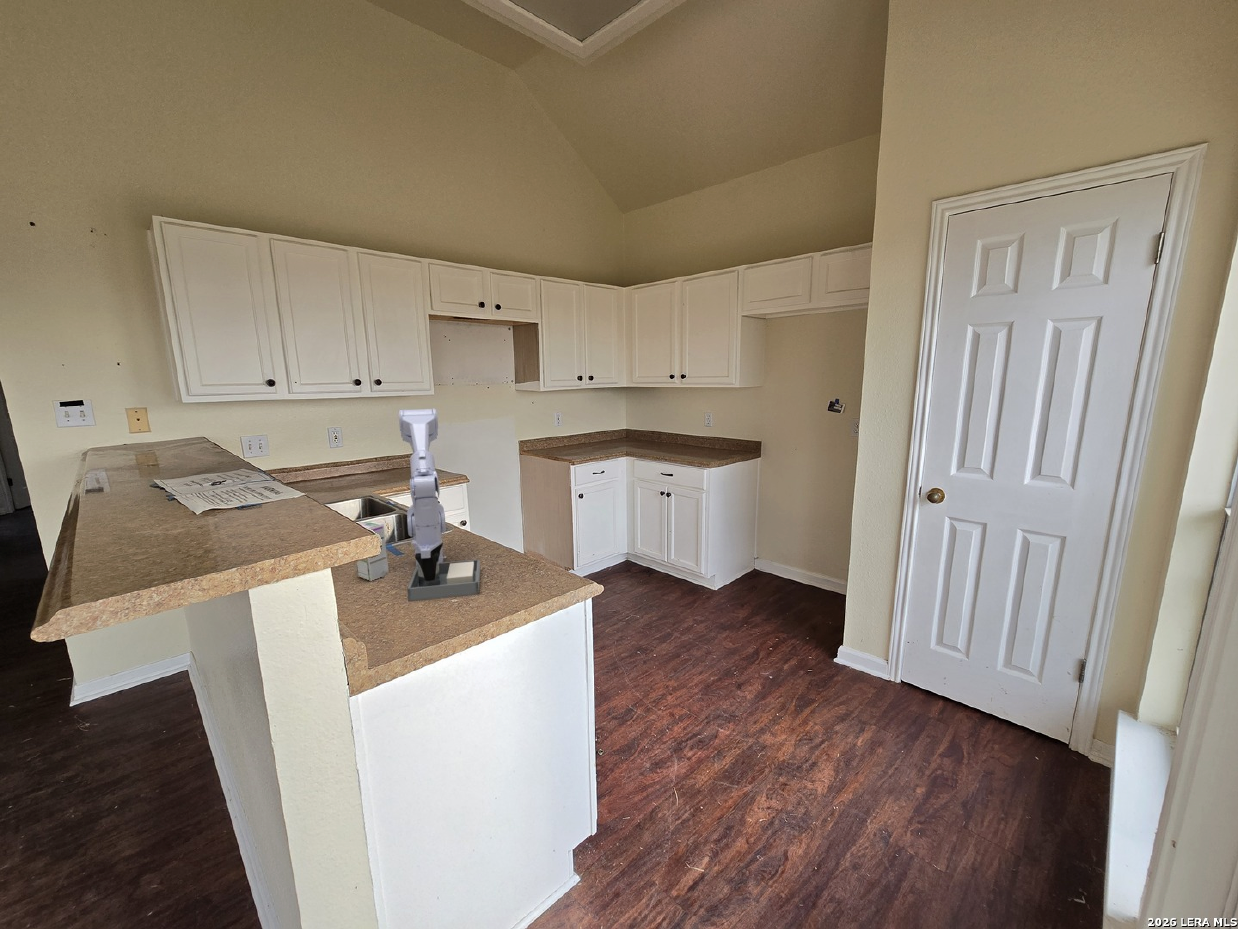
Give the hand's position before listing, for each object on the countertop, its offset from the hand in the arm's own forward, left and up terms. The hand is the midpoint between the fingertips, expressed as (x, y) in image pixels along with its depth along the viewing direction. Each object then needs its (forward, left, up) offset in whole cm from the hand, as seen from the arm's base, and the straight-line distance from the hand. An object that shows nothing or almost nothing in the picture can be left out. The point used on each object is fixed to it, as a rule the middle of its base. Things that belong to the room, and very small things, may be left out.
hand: (431, 576), depth 130 cm
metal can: (0, -1, -3) cm, 3 cm away
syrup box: (-13, -17, -4) cm, 21 cm away
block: (0, +7, -3) cm, 8 cm away
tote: (0, +3, -4) cm, 5 cm away
